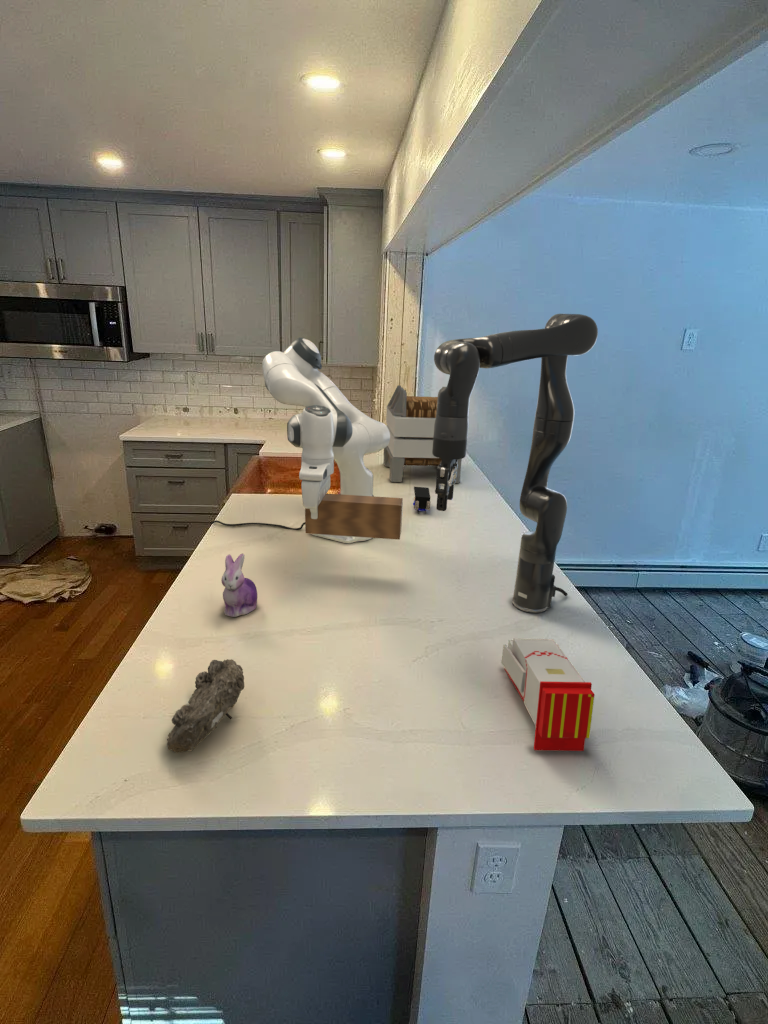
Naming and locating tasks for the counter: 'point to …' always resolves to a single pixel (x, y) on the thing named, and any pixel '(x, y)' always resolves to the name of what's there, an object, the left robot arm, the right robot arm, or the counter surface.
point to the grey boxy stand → (411, 433)
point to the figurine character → (421, 499)
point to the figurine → (237, 589)
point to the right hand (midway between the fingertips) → (444, 504)
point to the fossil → (206, 705)
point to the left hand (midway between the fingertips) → (317, 513)
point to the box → (357, 516)
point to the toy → (550, 693)
